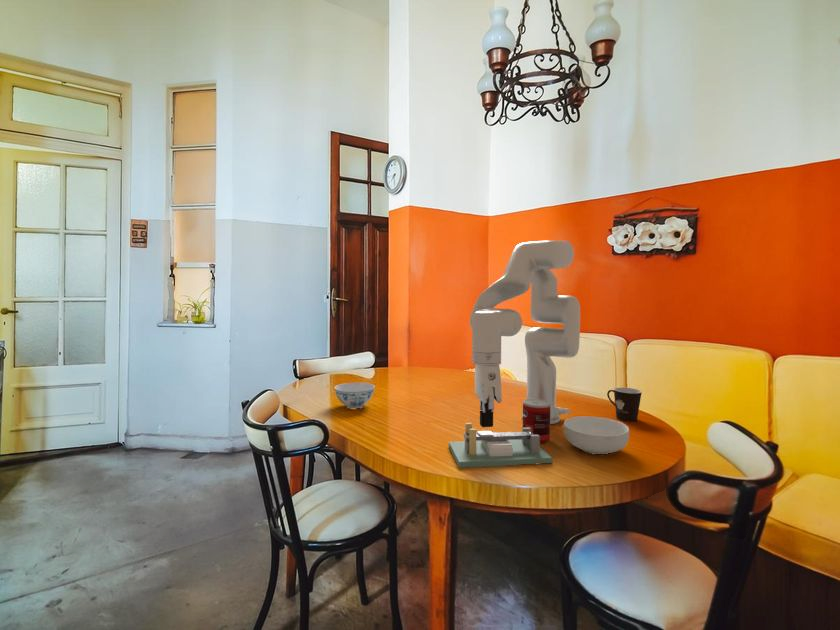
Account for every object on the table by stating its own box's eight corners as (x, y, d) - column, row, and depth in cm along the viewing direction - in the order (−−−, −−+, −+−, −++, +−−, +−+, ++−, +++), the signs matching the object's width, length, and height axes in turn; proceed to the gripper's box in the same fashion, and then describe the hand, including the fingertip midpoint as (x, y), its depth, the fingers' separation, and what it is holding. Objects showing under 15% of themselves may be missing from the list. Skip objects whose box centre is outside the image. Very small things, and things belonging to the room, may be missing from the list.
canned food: (528, 432, 129) (529, 397, 128) (553, 438, 123) (554, 401, 123) (517, 439, 123) (518, 402, 122) (543, 445, 118) (544, 407, 117)
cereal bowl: (564, 436, 125) (565, 413, 125) (625, 443, 119) (626, 419, 119) (562, 456, 110) (562, 430, 109) (632, 466, 104) (632, 438, 103)
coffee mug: (645, 422, 138) (646, 393, 138) (620, 422, 138) (621, 393, 138) (628, 412, 150) (629, 385, 150) (604, 412, 150) (605, 385, 150)
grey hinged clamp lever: (530, 435, 113) (530, 429, 113) (536, 440, 109) (536, 434, 109) (463, 437, 111) (463, 430, 111) (466, 442, 107) (466, 435, 107)
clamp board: (531, 443, 119) (531, 416, 118) (552, 463, 105) (552, 432, 104) (448, 446, 116) (449, 418, 116) (459, 467, 102) (459, 436, 102)
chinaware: (339, 401, 164) (339, 382, 164) (377, 401, 164) (377, 382, 163) (330, 412, 149) (330, 391, 149) (371, 412, 149) (371, 391, 148)
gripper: (509, 362, 102) (509, 435, 103) (492, 352, 117) (492, 416, 118) (479, 363, 101) (479, 436, 102) (466, 353, 116) (466, 417, 117)
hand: (486, 425), depth 110 cm, fingers closed
